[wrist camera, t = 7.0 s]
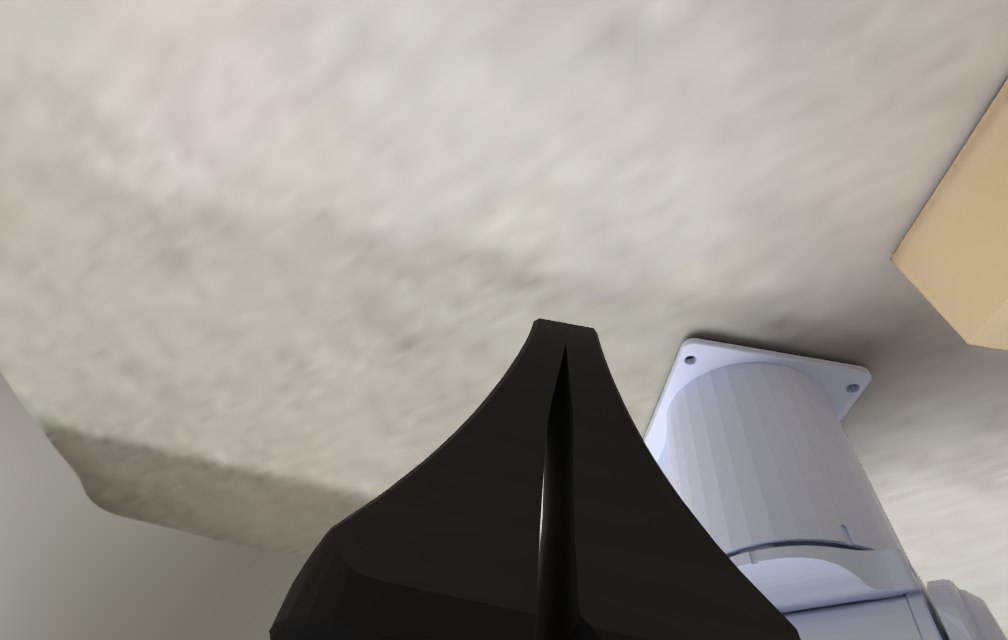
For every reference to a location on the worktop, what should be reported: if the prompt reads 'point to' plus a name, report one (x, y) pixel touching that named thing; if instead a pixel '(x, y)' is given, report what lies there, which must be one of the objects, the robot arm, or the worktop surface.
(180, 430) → the worktop surface
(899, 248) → the lidded box
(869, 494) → the robot arm
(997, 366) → the worktop surface
